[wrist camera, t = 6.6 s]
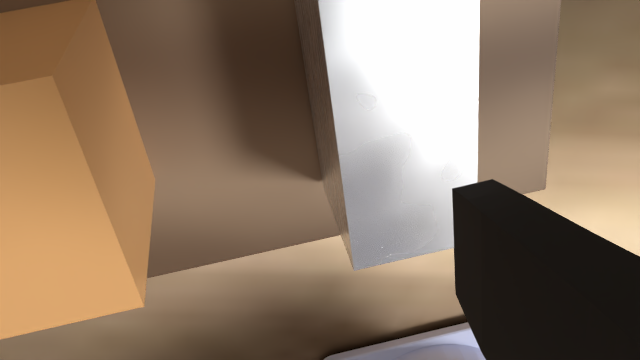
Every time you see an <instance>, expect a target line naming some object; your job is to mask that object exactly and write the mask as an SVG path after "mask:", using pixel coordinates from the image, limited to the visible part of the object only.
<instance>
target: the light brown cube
mask: <svg viewBox="0 0 640 360" xmlns="http://www.w3.org/2000/svg"><path fill="white" fill-rule="evenodd" d="M154 191H155V178H154V175H153V172H152V169H151V166H150V163H149V160H148V157H147V154H146V151H145V148H144V145H143V142H142V139H141V136H140V133H139V130H138V127H137V124H136V121H135V117H134V114H133V111H132V108H131V105H130V102H129V99H128V96H127V93H126V90H125V87H124V84H123V81H122V78H121V75H120V72H119V69H118V66H117V63H116V60H115V57H114V54H113V51H112V48H111V45H110V42H109V39H108V36H107V33H106V30H105V27H104V24H103V21H102V18H101V15H100V12H99V9H98V6H97V3H96V0H70V1H64V2H59V3H53V4H48V5H42V6H37V7H31V8H26V9H20V10H15V11H9V12H4V13H0V339H4V338H9V337H13V336H17V335H22V334H26V333H31V332H35V331H39V330H44V329H48V328H52V327H57V326H61V325H66V324H70V323H74V322H79V321H83V320H87V319H92V318H96V317H101V316H105V315H109V314H114V313H118V312H122V311H127V310H131V309H136V308H140V307H144V303H145V292H146V281H147V269H148V258H149V247H150V236H151V224H152V213H153V202H154Z"/></svg>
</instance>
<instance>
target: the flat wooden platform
mask: <svg viewBox="0 0 640 360" xmlns="http://www.w3.org/2000/svg"><path fill="white" fill-rule="evenodd" d="M64 1H70V0H0V13H4V12H9V11H15V10H20V9H26V8H31V7H37V6H42V5H48V4H53V3H59V2H64ZM96 3H97V6H98V9H99V12H100V15H101V18H102V21H103V24H104V27H105V30H106V33H107V36H108V39H109V42H110V45H111V48H112V51H113V54H114V57H115V60H116V63H117V66H118V69H119V72H120V75H121V78H122V81H123V84H124V87H125V90H126V93H127V96H128V99H129V102H130V105H131V108H132V111H133V114H134V117H135V121H136V124H137V127H138V130H139V133H140V136H141V139H142V142H143V145H144V148H145V151H146V154H147V157H148V160H149V163H150V166H151V169H152V172H153V175H154V178H155V191H154V202H153V213H152V224H151V236H150V247H149V258H148V269H147V278H150V277H154V276H159V275H163V274H168V273H172V272H177V271H181V270H186V269H190V268H195V267H199V266H204V265H208V264H212V263H217V262H221V261H226V260H230V259H235V258H239V257H244V256H248V255H253V254H257V253H262V252H266V251H271V250H275V249H280V248H284V247H289V246H293V245H298V244H302V243H307V242H311V241H315V240H320V239H324V238H329V237H333V236H338V235H341V234H340V231H339V228H338V226H337V223H336V220H335V218H334V215H333V212H332V209H331V207H330V204H329V201H328V199H327V196H326V193H325V190H324V188H323V183H322V177H321V170H320V164H319V157H318V151H317V144H316V138H315V131H314V125H313V118H312V112H311V105H310V99H309V92H308V86H307V79H306V73H305V66H304V60H303V53H302V47H301V40H300V34H299V27H298V21H297V14H296V8H295V1H294V0H96ZM560 7H561V0H479V83H478V181H477V183H478V182H482V181H486V180H491V179H493V180H495V181H497V182H499V183H501V184H503V185H505V186H507V187H509V188H511V189H513V190H515V191H517V192H519V193H521V194H526V193H530V192H535V191H539V190H544V189H545V188H546V176H547V164H548V152H549V140H550V128H551V116H552V104H553V92H554V80H555V68H556V56H557V44H558V32H559V19H560Z"/></svg>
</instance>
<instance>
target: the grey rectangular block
mask: <svg viewBox="0 0 640 360" xmlns="http://www.w3.org/2000/svg"><path fill="white" fill-rule="evenodd" d="M294 1H295V8H296V14H297V21H298V27H299V34H300V40H301V47H302V53H303V60H304V66H305V73H306V79H307V86H308V92H309V99H310V105H311V112H312V118H313V125H314V131H315V138H316V144H317V151H318V157H319V164H320V170H321V177H322V183H323V188H324V190H325V193H326V196H327V199H328V201H329V204H330V207H331V209H332V212H333V215H334V218H335V220H336V223H337V226H338V228H339V231H340V234H341V237H342V239H343V242H344V245H345V247H346V250H347V253H348V256H349V258H350V261H351V264H352V267H353V269H354V271H355V270H359V269H363V268H368V267H372V266H376V265H381V264H385V263H390V262H394V261H398V260H403V259H407V258H411V257H416V256H420V255H424V254H429V253H433V252H438V251H442V250H446V249H451V248H454V231H453V202H452V188H456V187H461V186H465V185H469V184H473V183H477V181H478V83H479V0H294Z"/></svg>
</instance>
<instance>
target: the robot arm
mask: <svg viewBox="0 0 640 360" xmlns="http://www.w3.org/2000/svg"><path fill="white" fill-rule="evenodd" d="M452 202H453V231H454V259H455V288H456V296H457V298H458V300H459V303H460V305H461V307H462V309H463V312H464V314H465V316H466V319H467V321H468V322H467V323H462V324H458V325H454V326H450V327H446V328H442V329H438V330H433V331H429V332H425V333H421V334H417V335H413V336H409V337H404V338H400V339H396V340H392V341H388V342H384V343H380V344H375V345H371V346H367V347H363V348H359V349H355V350H350V351H346V352H342V353H338V354H334V355H330V356H328V357H326V358H325V359H324V360H640V257H639V256H637V255H635V254H633V253H631V252H629V251H627V250H625V249H623V248H621V247H620V246H618V245H616V244H614V243H612V242H610V241H608V240H606V239H604V238H602V237H600V236H598V235H596V234H594V233H592V232H591V231H589V230H587V229H585V228H583V227H581V226H579V225H577V224H576V223H574V222H572V221H570V220H568V219H566V218H565V217H563V216H561V215H559V214H557V213H555V212H553V211H552V210H550V209H548V208H546V207H544V206H542V205H541V204H539V203H537V202H535V201H533V200H532V199H530V198H528V197H526V196H524V195H522V194H521V193H519V192H517V191H515V190H513V189H511V188H509V187H507V186H505V185H503V184H501V183H499V182H497V181H495V180H493V179H491V180H486V181H482V182H478V183H473V184H469V185H465V186H461V187H456V188H452Z"/></svg>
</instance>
